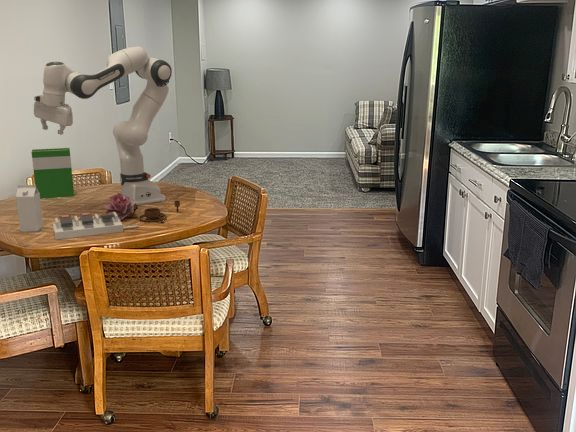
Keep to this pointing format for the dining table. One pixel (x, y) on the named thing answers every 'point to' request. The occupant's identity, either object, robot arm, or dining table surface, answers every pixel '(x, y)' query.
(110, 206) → the flower
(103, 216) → the rocker near arm
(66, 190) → the hardback book
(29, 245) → the dining table surface
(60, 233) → the power strip
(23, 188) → the milk carton
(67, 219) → the rocker far end
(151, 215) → the place setting
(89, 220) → the rocker middle
